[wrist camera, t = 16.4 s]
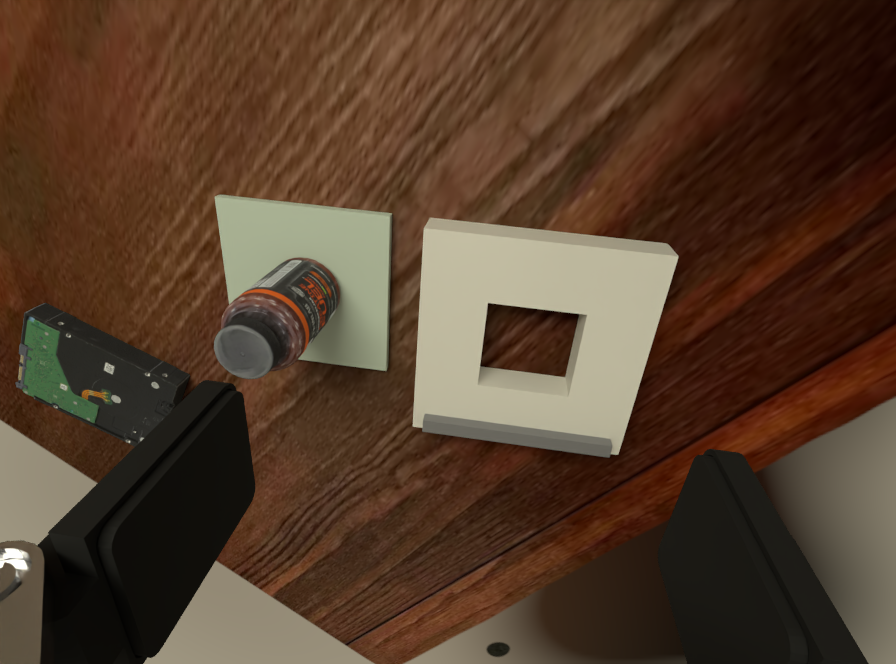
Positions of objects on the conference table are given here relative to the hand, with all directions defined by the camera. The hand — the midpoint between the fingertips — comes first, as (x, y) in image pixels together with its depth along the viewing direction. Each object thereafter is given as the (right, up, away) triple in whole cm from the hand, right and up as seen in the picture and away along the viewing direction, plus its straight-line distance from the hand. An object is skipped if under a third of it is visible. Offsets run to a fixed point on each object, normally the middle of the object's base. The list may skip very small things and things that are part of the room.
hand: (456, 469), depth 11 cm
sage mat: (-12, +7, +32) cm, 35 cm away
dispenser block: (+7, +3, +32) cm, 33 cm away
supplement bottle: (-12, +7, +32) cm, 35 cm away
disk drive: (-34, -1, +40) cm, 53 cm away
